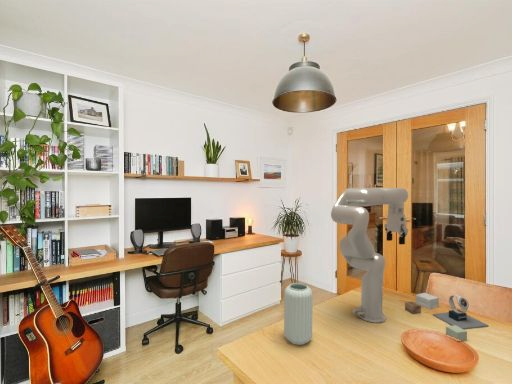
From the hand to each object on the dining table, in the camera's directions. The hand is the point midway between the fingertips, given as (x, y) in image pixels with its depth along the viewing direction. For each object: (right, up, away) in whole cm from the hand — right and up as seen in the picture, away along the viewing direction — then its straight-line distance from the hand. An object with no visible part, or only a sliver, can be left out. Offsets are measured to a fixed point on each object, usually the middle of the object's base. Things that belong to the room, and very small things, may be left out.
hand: (395, 242), depth 146 cm
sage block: (+8, -34, -33) cm, 48 cm away
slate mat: (+21, -34, -19) cm, 44 cm away
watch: (+21, -33, -18) cm, 43 cm away
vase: (-58, -34, -35) cm, 76 cm away
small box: (+16, -34, -2) cm, 37 cm away
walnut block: (+4, -34, -9) cm, 35 cm away
